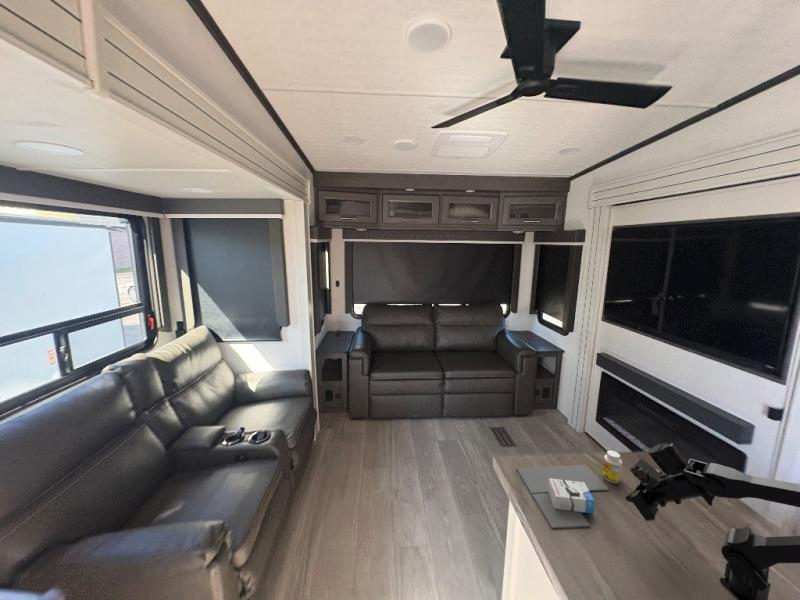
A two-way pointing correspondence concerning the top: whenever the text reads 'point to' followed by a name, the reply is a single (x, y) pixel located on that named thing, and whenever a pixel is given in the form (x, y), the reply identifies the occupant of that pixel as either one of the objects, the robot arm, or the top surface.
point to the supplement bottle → (612, 467)
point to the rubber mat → (538, 488)
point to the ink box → (570, 496)
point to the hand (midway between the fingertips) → (626, 498)
